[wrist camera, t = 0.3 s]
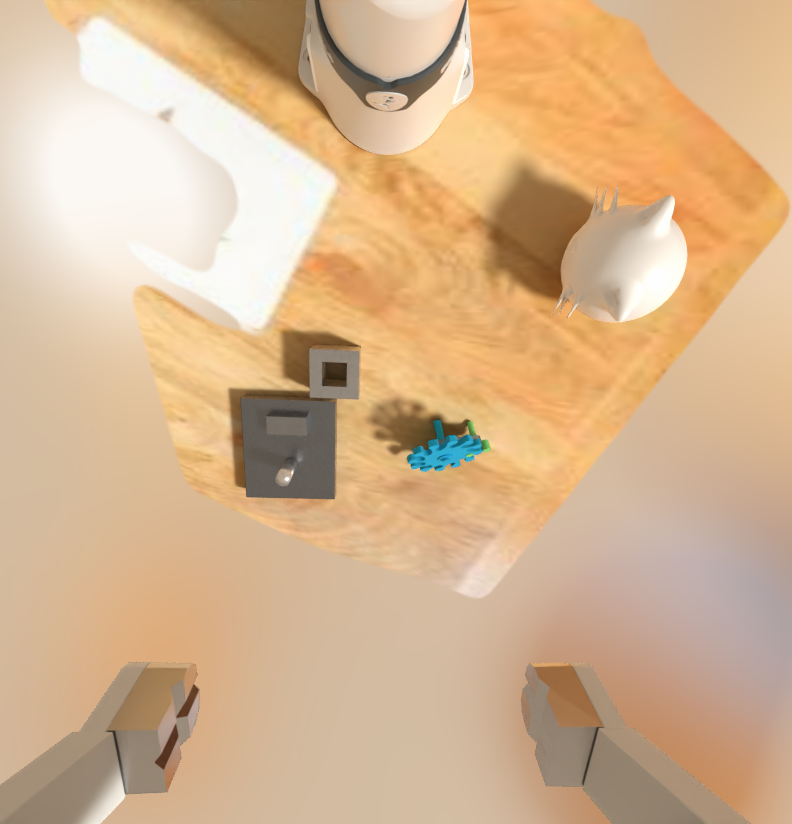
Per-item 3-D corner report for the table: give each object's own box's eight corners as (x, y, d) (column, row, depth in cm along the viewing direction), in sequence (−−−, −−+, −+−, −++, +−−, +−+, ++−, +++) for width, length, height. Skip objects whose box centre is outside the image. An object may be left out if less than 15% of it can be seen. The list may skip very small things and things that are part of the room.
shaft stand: (245, 394, 55) (228, 408, 48) (336, 397, 55) (332, 412, 49) (250, 490, 59) (235, 514, 52) (335, 492, 59) (331, 516, 53)
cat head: (617, 340, 55) (682, 355, 43) (525, 314, 53) (567, 322, 42) (667, 222, 51) (754, 202, 39) (569, 189, 49) (630, 159, 38)
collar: (314, 344, 53) (309, 348, 49) (360, 346, 53) (359, 351, 50) (314, 389, 55) (309, 397, 51) (359, 391, 55) (358, 399, 51)
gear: (405, 479, 57) (414, 451, 49) (397, 441, 60) (405, 407, 51) (480, 469, 59) (502, 439, 51) (470, 432, 62) (489, 398, 53)
